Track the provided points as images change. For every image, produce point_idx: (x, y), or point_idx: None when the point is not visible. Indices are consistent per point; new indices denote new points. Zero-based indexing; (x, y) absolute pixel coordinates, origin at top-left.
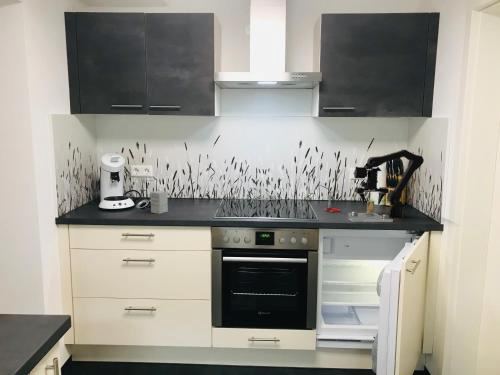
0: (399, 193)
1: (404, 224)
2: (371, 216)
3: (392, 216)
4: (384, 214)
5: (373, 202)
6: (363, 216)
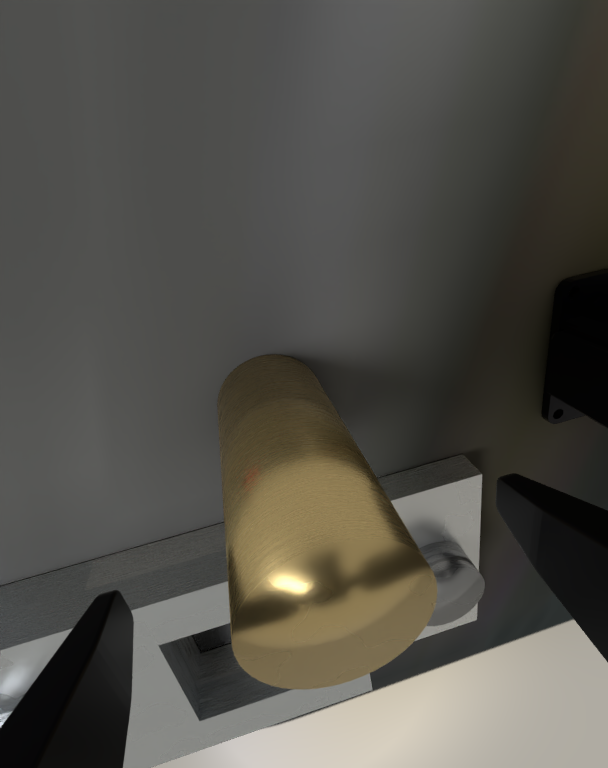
0: None
1: (523, 629)
2: (256, 721)
3: (558, 407)
4: (442, 584)
5: (387, 642)
6: (157, 758)
